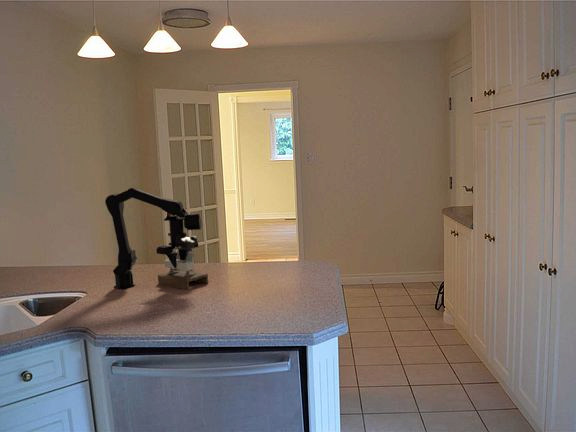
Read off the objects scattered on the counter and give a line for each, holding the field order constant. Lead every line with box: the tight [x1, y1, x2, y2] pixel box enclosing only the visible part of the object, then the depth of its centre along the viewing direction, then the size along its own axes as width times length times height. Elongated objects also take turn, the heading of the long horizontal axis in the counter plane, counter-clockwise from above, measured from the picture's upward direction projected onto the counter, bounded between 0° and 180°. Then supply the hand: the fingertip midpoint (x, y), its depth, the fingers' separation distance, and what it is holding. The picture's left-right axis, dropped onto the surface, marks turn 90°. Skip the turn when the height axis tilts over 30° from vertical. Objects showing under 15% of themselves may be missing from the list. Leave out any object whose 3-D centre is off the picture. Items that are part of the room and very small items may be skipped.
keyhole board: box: [157, 269, 209, 290], centre depth 223 cm, size 12×18×4 cm, turn 54°
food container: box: [173, 249, 195, 271], centre depth 240 cm, size 12×6×10 cm, turn 143°
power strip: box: [163, 258, 195, 277], centre depth 221 cm, size 4×14×7 cm, turn 54°
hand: (179, 266), depth 221 cm, fingers closed on power strip, 4 cm apart
